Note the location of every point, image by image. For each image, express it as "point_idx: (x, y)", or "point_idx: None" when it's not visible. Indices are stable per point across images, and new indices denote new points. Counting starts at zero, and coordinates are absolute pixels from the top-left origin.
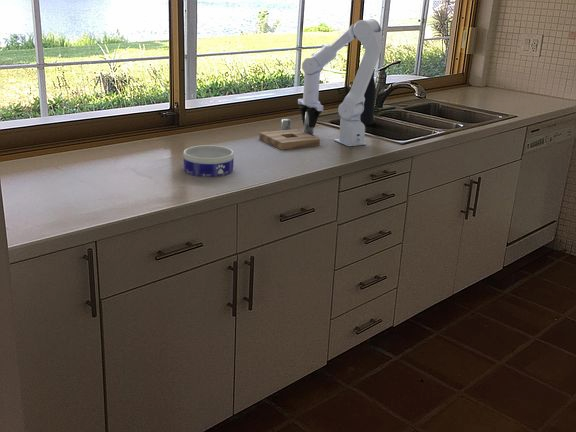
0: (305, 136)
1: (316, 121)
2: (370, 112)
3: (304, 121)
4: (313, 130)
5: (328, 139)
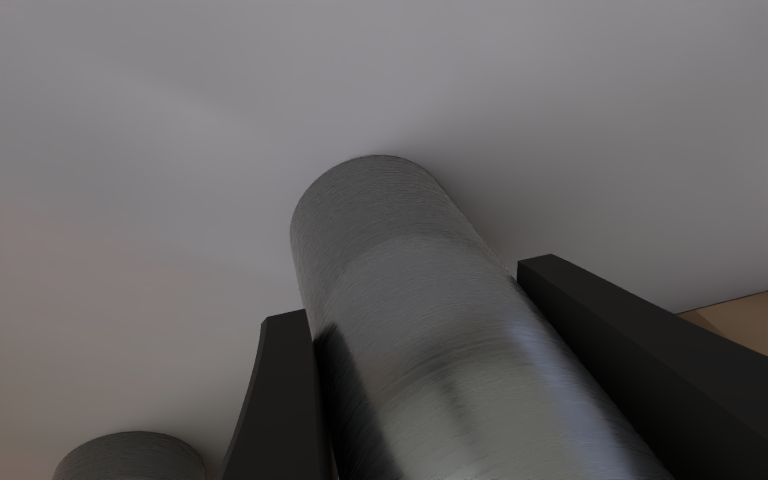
0: None
1: (675, 317)
2: None
3: (334, 474)
4: (458, 211)
5: (740, 18)
